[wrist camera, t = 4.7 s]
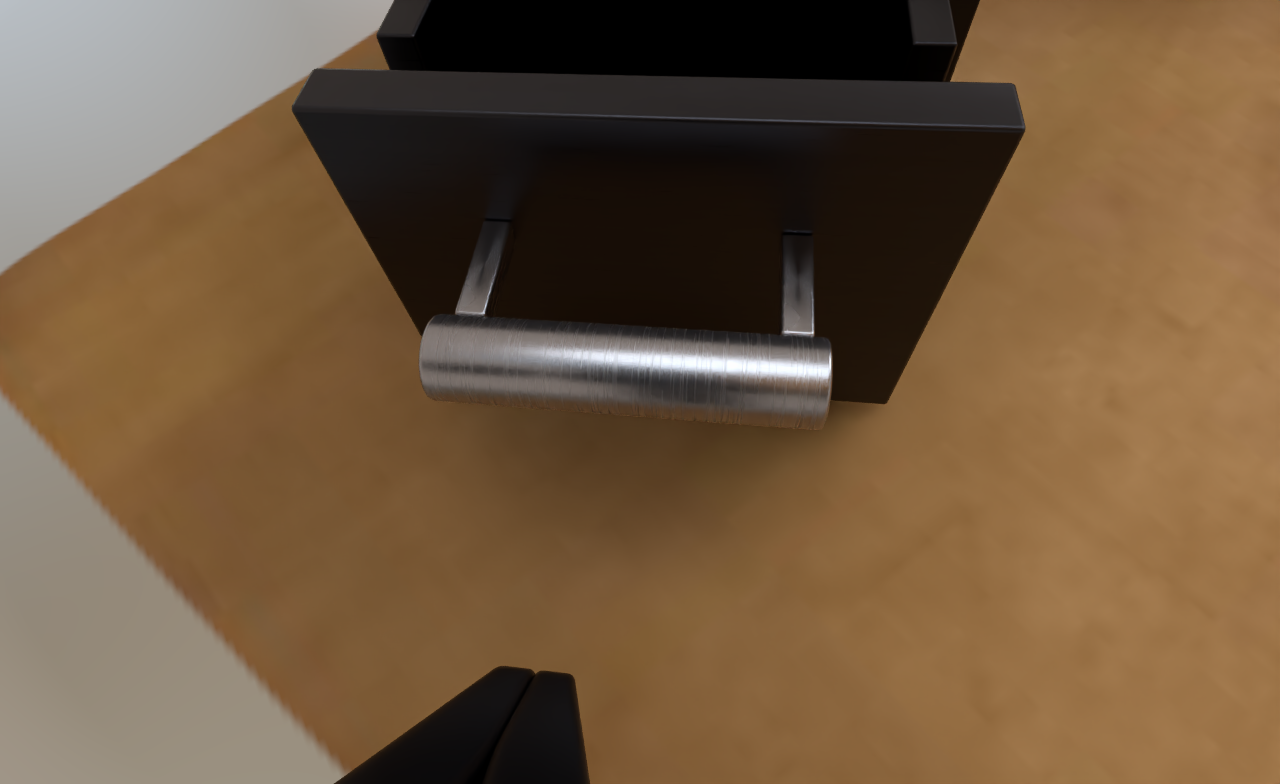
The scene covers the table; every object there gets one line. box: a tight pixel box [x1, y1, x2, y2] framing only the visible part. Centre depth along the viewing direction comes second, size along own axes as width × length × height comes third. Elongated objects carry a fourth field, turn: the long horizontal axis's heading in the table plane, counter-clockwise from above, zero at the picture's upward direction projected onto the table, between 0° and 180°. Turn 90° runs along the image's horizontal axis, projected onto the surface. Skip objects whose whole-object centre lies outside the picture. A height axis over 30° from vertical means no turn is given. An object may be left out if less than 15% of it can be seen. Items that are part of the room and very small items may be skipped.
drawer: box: [292, 0, 1025, 430], centre depth 18 cm, size 18×12×9 cm
